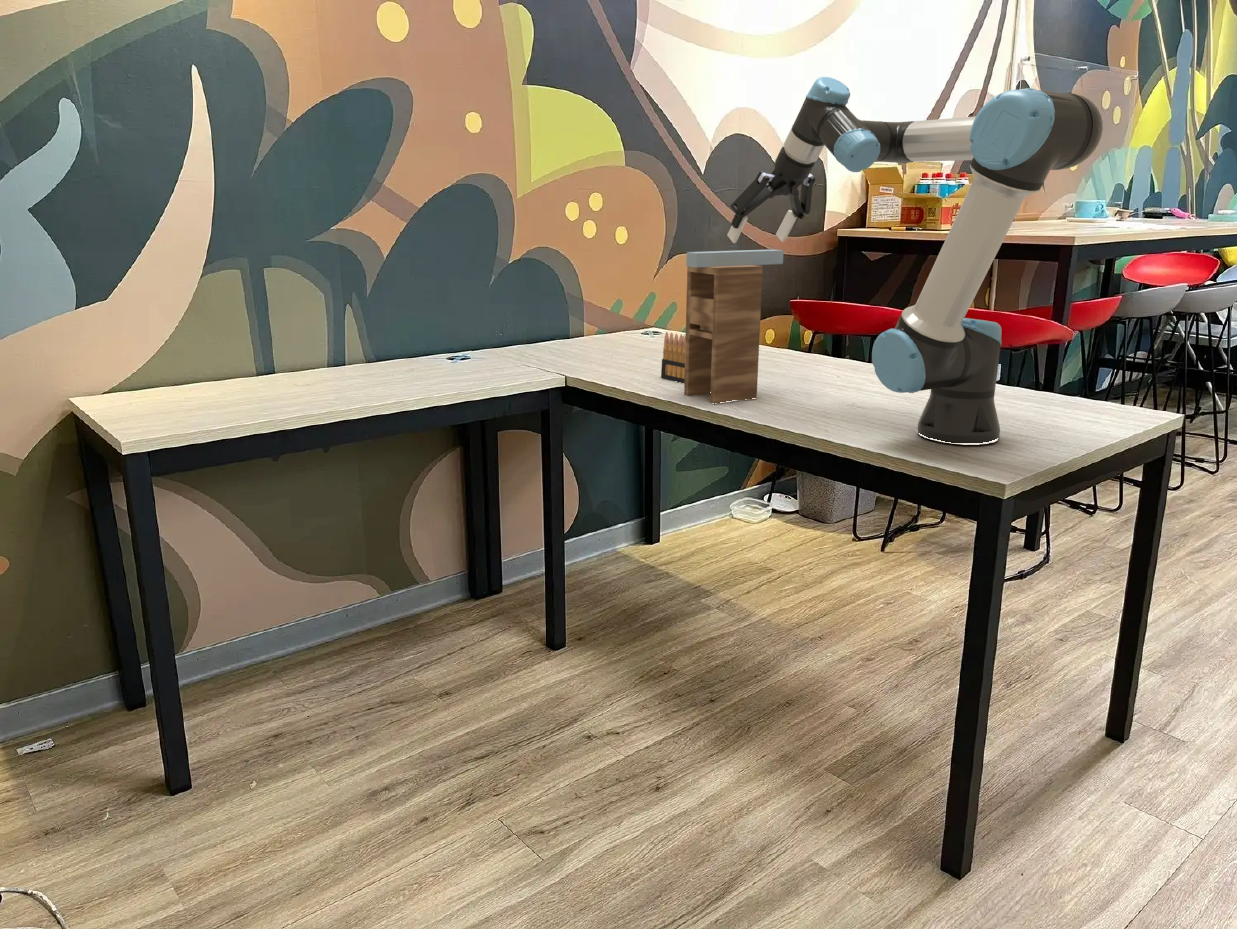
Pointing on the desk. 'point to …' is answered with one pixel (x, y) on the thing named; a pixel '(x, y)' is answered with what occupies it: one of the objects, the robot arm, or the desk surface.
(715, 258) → the batten
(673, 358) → the ammunition clip
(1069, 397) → the desk surface
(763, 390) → the desk surface
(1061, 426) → the desk surface
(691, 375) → the rack
